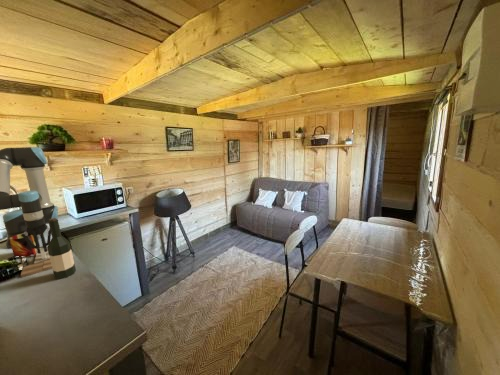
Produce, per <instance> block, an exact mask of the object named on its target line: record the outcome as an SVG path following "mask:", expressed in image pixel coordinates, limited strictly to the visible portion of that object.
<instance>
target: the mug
mask: <svg viewBox="0 0 500 375" xmlns="http://www.w3.org/2000/svg"><path fill="white" fill-rule="evenodd" d="M28 236H29V238H30V239H31V240H32V242H33V243H34V245H35V246H36V244H35V242H34V238H33V235H31V234H29V233H28ZM9 240H10V243H11V247H12V248H11V250H12V254H13V257H14V256H19V257H21V256H26V257H25V258H27V257H30V256H32V255H33V256H36V254H37V249H36V248H34V249H32V248H31V247H30V245H29V244H28V242H27V241H26V239H25V238H24V237H22V236H21V234H19V235H15V236H13V237H11V238H9Z"/></svg>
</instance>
